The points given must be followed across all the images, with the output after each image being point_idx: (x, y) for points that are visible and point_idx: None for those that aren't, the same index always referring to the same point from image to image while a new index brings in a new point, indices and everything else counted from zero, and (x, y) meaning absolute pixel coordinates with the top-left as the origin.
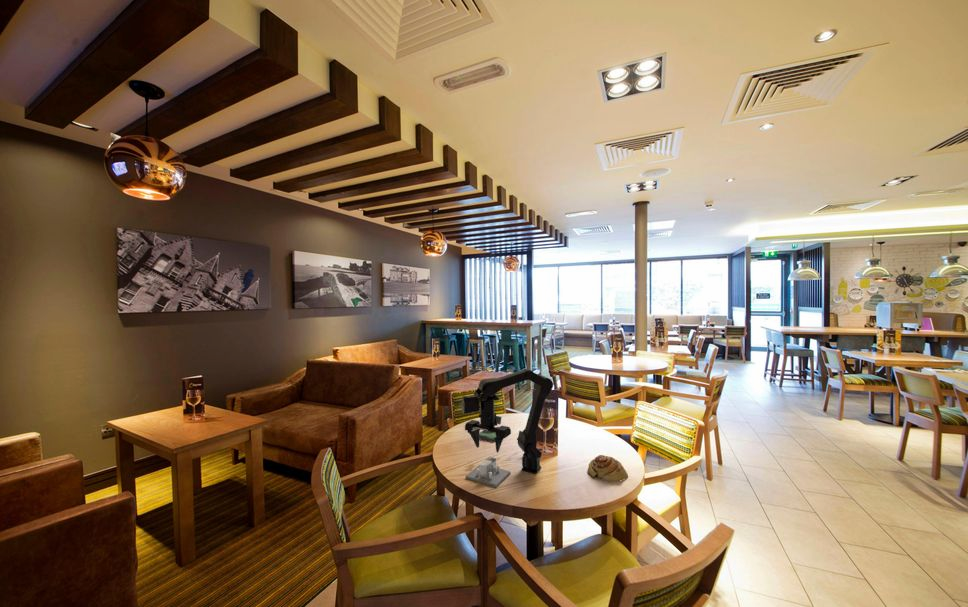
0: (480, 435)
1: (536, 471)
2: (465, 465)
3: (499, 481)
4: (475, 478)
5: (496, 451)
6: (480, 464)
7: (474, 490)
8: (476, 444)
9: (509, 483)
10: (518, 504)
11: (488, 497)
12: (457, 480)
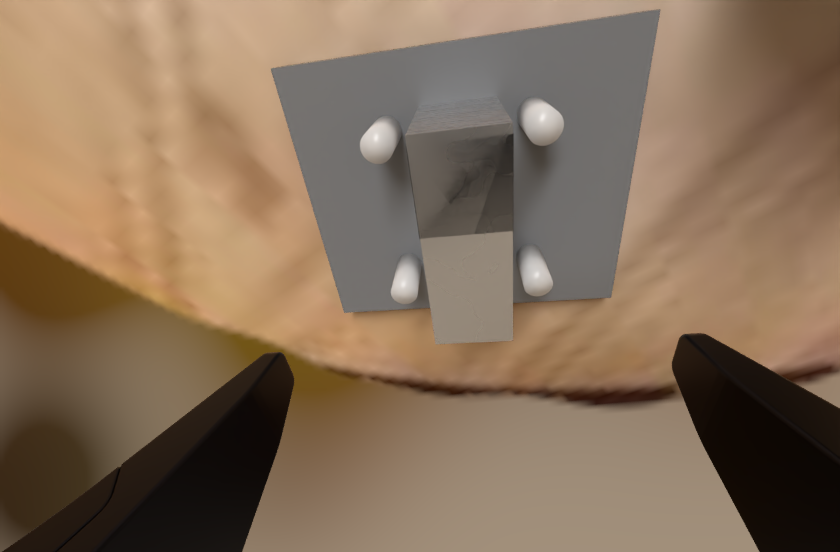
0: None
1: None
2: (177, 154)
3: (617, 248)
4: (424, 303)
5: (679, 386)
6: (440, 341)
7: (488, 365)
8: (268, 448)
9: (690, 184)
10: (813, 354)
11: (600, 377)
12: (328, 339)
